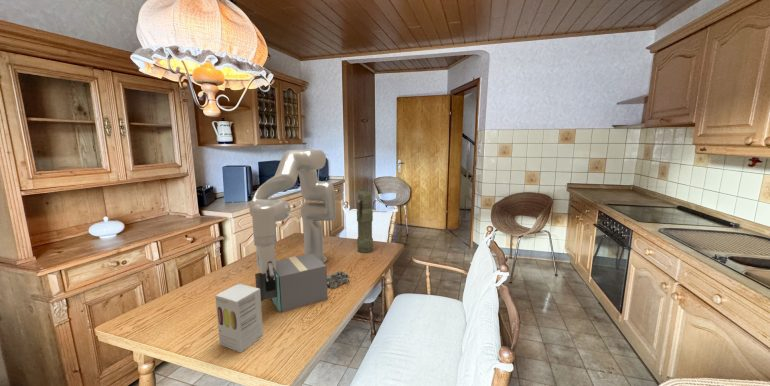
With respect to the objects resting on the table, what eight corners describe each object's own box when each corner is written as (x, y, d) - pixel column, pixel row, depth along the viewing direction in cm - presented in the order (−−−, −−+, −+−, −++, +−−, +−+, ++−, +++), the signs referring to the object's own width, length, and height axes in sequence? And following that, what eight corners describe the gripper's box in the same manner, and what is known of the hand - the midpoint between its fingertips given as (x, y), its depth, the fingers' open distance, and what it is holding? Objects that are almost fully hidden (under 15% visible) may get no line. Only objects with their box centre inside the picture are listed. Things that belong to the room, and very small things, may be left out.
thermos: (353, 252, 177) (351, 191, 171) (363, 246, 187) (362, 187, 181) (366, 255, 173) (366, 192, 167) (376, 248, 183) (376, 188, 177)
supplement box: (218, 345, 98) (213, 294, 95) (242, 328, 107) (238, 282, 104) (241, 353, 95) (236, 301, 92) (264, 336, 103) (260, 287, 100)
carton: (271, 294, 130) (269, 261, 128) (313, 283, 140) (312, 252, 137) (281, 312, 117) (279, 276, 114) (327, 299, 126) (326, 265, 124)
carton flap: (251, 298, 126) (248, 261, 123) (270, 293, 130) (268, 257, 127) (259, 317, 113) (256, 276, 110) (280, 311, 117) (278, 271, 114)
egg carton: (332, 290, 134) (332, 281, 133) (321, 284, 139) (321, 276, 138) (351, 282, 142) (351, 273, 141) (340, 277, 147) (340, 268, 146)
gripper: (249, 234, 116) (253, 280, 119) (259, 248, 102) (262, 299, 105) (270, 231, 120) (273, 275, 123) (282, 244, 106) (285, 294, 109)
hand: (268, 286), depth 114 cm, fingers open, 5 cm apart
